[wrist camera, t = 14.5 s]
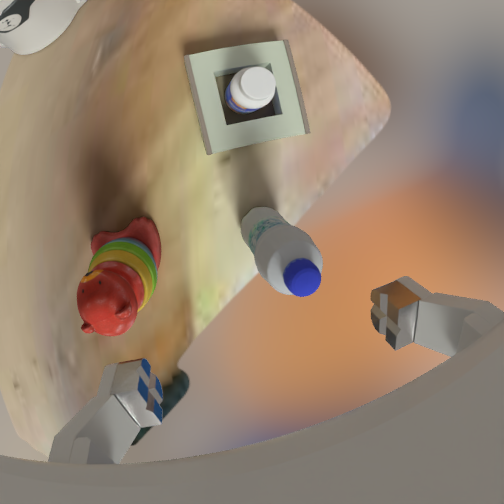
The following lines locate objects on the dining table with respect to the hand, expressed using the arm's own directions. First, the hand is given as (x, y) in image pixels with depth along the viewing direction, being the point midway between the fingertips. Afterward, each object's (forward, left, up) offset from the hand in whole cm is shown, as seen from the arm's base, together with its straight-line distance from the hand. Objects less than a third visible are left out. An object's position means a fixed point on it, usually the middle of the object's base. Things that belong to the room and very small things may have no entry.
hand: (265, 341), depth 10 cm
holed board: (-12, +8, -34) cm, 37 cm away
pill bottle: (-12, +8, -34) cm, 37 cm away
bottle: (+7, +6, -34) cm, 36 cm away
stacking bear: (+6, -14, -34) cm, 38 cm away
